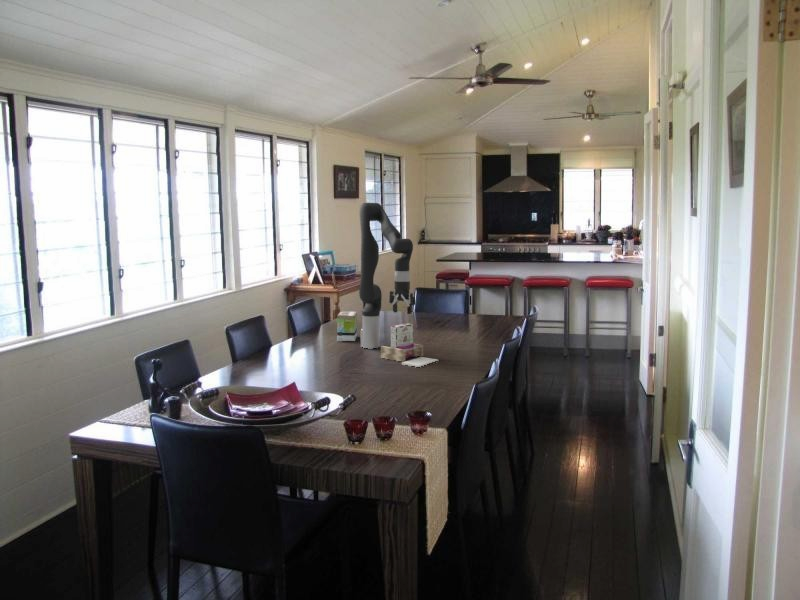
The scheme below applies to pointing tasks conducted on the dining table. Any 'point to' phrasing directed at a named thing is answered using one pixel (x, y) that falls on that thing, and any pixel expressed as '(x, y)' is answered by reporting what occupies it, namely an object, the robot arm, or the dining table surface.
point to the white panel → (419, 361)
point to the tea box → (346, 326)
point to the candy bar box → (402, 337)
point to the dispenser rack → (400, 352)
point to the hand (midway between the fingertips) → (402, 313)
